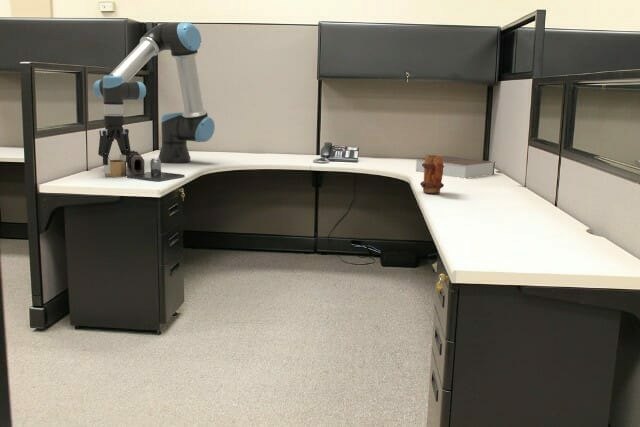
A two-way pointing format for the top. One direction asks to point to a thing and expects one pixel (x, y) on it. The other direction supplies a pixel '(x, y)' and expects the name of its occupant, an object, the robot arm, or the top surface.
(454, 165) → the book
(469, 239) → the top surface
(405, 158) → the top surface
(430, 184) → the mug
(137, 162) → the tube
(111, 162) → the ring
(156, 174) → the dark piece
